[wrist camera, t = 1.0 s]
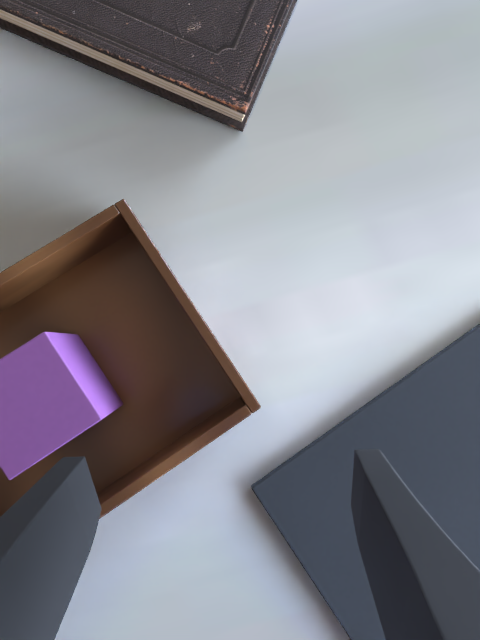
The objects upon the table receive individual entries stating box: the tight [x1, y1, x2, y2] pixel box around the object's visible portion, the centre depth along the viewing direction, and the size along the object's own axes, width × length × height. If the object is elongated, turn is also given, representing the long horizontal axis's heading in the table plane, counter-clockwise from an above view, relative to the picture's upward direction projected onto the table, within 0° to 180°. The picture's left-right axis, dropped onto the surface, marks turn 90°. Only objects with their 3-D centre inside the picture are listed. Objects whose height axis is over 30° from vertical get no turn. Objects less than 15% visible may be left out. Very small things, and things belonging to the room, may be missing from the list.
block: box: [0, 332, 123, 480], centre depth 21 cm, size 5×5×5 cm
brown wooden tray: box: [0, 199, 261, 519], centre depth 22 cm, size 18×13×4 cm
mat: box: [251, 324, 480, 640], centre depth 26 cm, size 20×14×1 cm
